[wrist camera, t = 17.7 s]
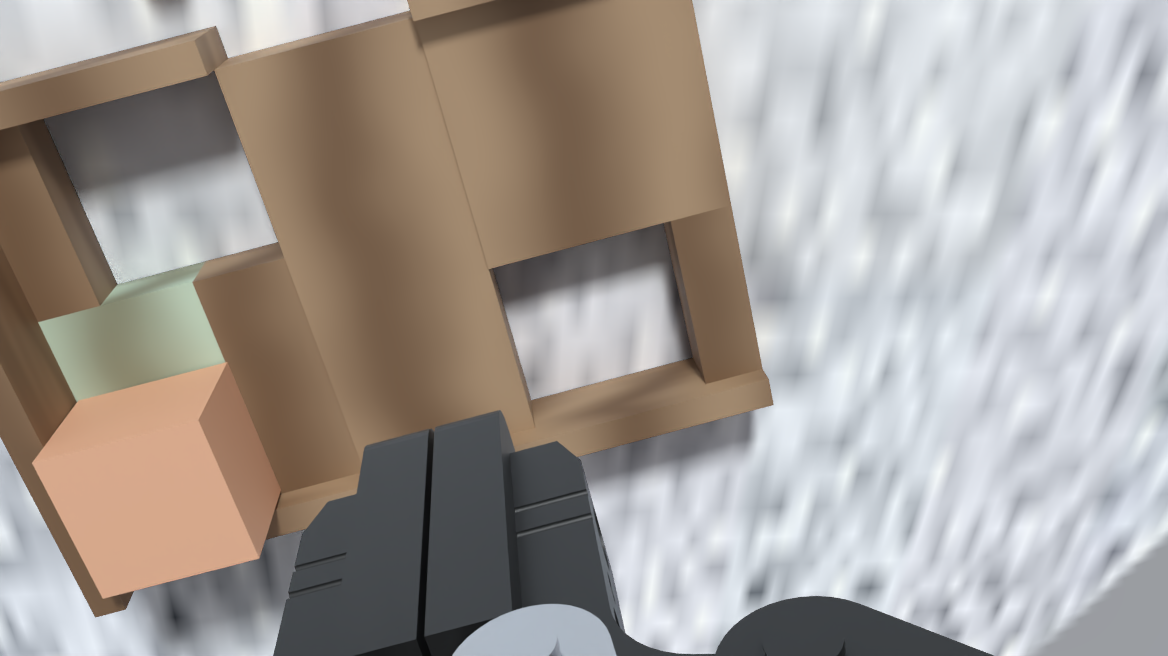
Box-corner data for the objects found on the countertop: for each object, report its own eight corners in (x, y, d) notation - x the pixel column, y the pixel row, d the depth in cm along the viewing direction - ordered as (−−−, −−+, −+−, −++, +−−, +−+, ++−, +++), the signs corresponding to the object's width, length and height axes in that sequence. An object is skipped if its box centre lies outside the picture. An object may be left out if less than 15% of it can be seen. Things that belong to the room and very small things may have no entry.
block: (227, 361, 35) (198, 420, 32) (280, 490, 37) (259, 558, 34) (78, 400, 35) (32, 463, 32) (139, 526, 37) (102, 598, 34)
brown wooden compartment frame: (661, -91, 33) (694, -85, 29) (751, 367, 40) (789, 432, 35) (-73, 101, 33) (-157, 139, 28) (137, 530, 39) (95, 617, 35)
